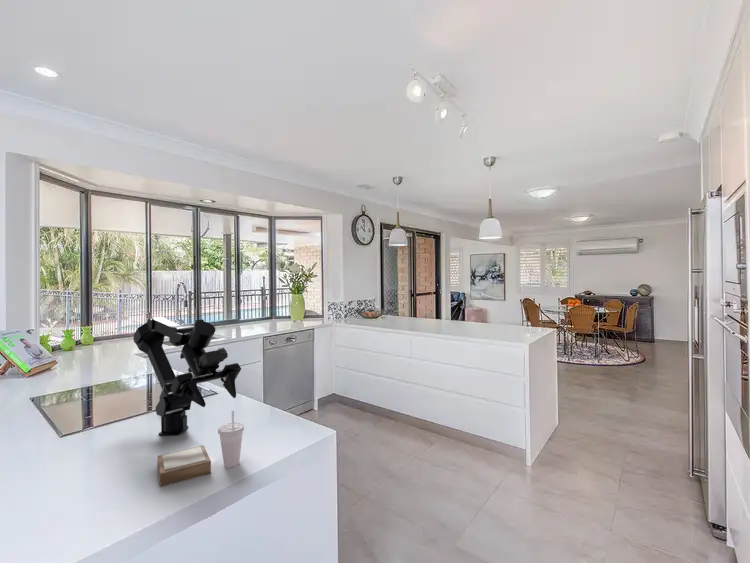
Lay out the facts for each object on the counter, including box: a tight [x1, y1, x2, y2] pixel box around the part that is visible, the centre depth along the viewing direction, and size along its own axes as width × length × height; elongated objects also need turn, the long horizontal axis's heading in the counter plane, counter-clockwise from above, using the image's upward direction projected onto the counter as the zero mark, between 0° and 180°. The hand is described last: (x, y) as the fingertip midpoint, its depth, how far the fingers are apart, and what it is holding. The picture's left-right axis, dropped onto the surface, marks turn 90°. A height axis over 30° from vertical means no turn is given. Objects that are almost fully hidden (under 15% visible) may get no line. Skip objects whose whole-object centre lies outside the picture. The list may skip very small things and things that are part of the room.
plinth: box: [157, 445, 212, 487], centre depth 97 cm, size 11×11×3 cm
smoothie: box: [217, 409, 245, 469], centre depth 100 cm, size 6×6×14 cm
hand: (220, 401), depth 106 cm, fingers open, 9 cm apart
